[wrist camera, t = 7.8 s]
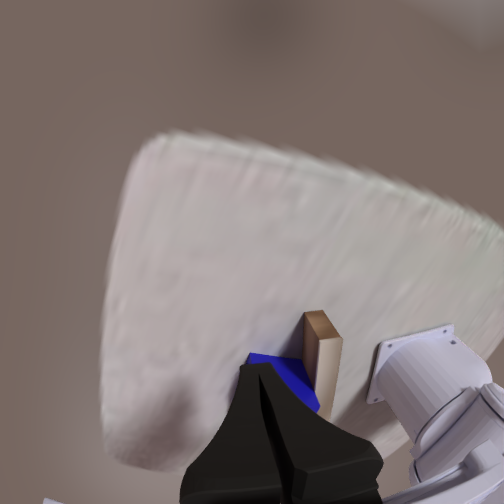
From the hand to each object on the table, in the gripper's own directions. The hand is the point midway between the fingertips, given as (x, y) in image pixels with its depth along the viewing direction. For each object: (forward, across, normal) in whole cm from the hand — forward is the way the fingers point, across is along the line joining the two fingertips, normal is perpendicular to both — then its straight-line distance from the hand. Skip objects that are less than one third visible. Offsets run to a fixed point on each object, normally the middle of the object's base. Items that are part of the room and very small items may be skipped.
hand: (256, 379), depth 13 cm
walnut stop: (+9, -6, +10) cm, 15 cm away
